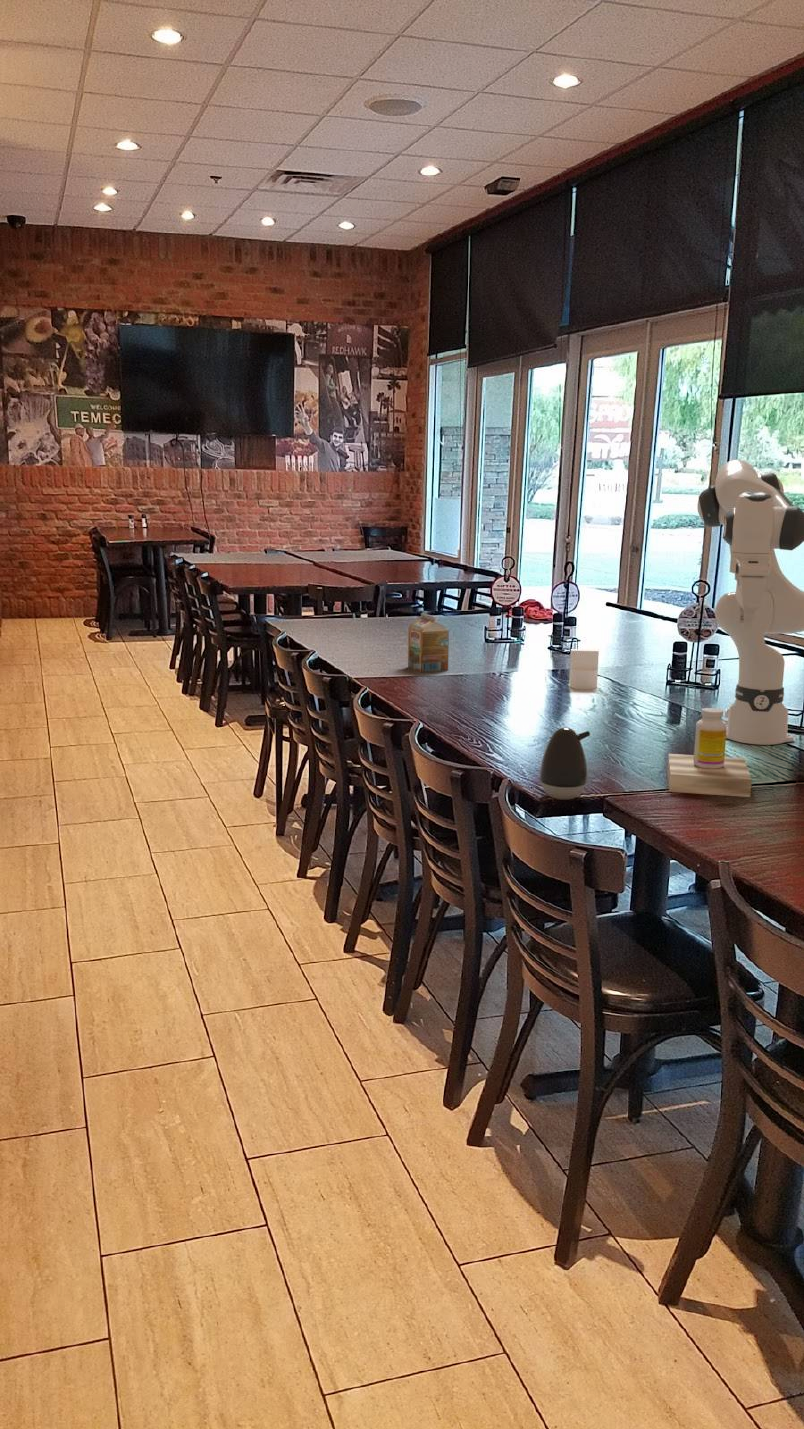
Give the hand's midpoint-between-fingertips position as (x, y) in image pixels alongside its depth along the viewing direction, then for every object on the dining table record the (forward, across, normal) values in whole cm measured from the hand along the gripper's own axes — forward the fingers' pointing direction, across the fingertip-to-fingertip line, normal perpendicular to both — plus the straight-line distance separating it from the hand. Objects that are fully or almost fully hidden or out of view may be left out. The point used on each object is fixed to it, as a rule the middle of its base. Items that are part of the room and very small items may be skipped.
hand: (745, 625), depth 250 cm
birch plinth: (+34, +14, -7) cm, 37 cm away
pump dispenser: (+34, +32, -38) cm, 60 cm away
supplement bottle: (+30, +14, -7) cm, 34 cm away
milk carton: (+34, -112, -95) cm, 151 cm away
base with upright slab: (+34, -93, -40) cm, 107 cm away
